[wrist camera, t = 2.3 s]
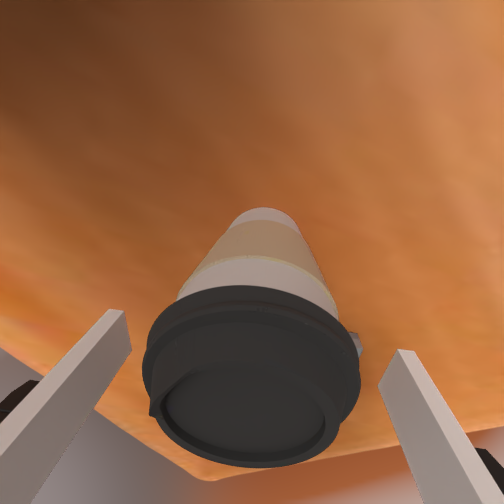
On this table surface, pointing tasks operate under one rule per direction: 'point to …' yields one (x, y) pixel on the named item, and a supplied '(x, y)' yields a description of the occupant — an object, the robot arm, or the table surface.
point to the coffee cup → (253, 351)
